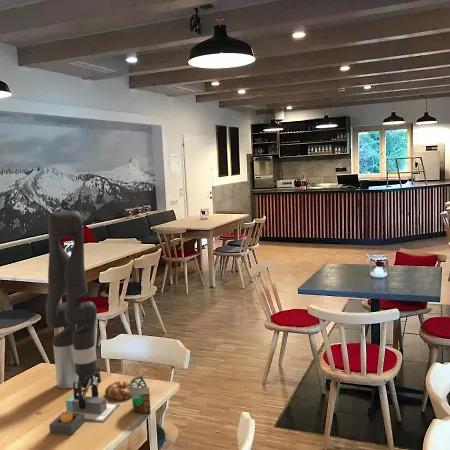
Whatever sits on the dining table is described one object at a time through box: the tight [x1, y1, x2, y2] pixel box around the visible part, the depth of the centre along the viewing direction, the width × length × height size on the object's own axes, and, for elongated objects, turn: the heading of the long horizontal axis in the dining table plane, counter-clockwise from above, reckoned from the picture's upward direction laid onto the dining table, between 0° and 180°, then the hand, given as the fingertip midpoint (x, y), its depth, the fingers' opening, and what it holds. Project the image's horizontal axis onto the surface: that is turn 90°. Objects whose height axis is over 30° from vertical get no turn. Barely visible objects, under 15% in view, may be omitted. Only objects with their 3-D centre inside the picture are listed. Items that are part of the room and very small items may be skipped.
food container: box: [128, 374, 151, 415], centre depth 171 cm, size 12×6×10 cm, turn 21°
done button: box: [61, 411, 73, 423], centre depth 162 cm, size 4×4×2 cm
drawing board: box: [65, 402, 120, 423], centre depth 172 cm, size 12×17×1 cm
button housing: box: [48, 411, 86, 436], centre depth 162 cm, size 8×8×3 cm
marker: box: [65, 394, 107, 414], centre depth 172 cm, size 13×4×4 cm, turn 76°
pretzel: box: [104, 381, 132, 401], centre depth 184 cm, size 12×11×4 cm
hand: (89, 402), depth 172 cm, fingers open, 8 cm apart
